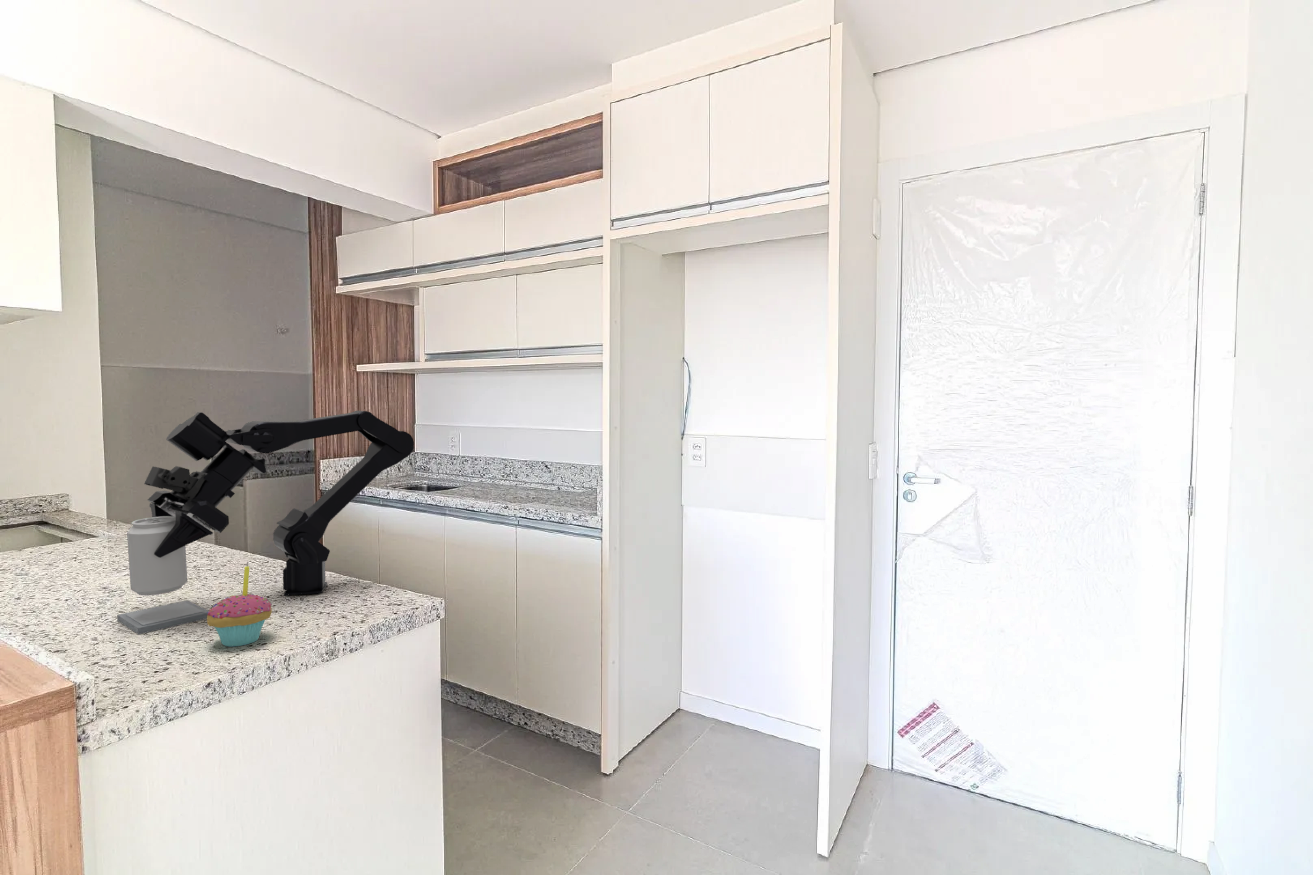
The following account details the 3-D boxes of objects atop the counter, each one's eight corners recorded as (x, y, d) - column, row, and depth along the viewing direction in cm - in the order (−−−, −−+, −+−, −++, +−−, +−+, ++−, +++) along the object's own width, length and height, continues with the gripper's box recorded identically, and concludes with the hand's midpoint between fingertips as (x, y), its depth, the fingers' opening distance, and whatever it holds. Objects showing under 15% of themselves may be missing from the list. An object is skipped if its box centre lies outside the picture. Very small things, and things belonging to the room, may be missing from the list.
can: (157, 598, 102) (152, 524, 101) (118, 595, 103) (113, 522, 102) (199, 584, 109) (195, 515, 108) (162, 581, 111) (158, 513, 110)
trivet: (187, 605, 114) (187, 599, 114) (211, 617, 109) (210, 611, 109) (117, 620, 106) (117, 614, 106) (138, 634, 100) (138, 627, 100)
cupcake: (228, 631, 103) (227, 557, 102) (283, 630, 103) (283, 557, 103) (194, 652, 94) (193, 572, 93) (254, 651, 95) (253, 572, 94)
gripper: (158, 445, 113) (81, 517, 105) (203, 451, 102) (121, 532, 94) (211, 483, 120) (143, 554, 112) (258, 493, 110) (187, 571, 101)
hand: (147, 552), depth 105 cm, fingers closed on can, 7 cm apart
